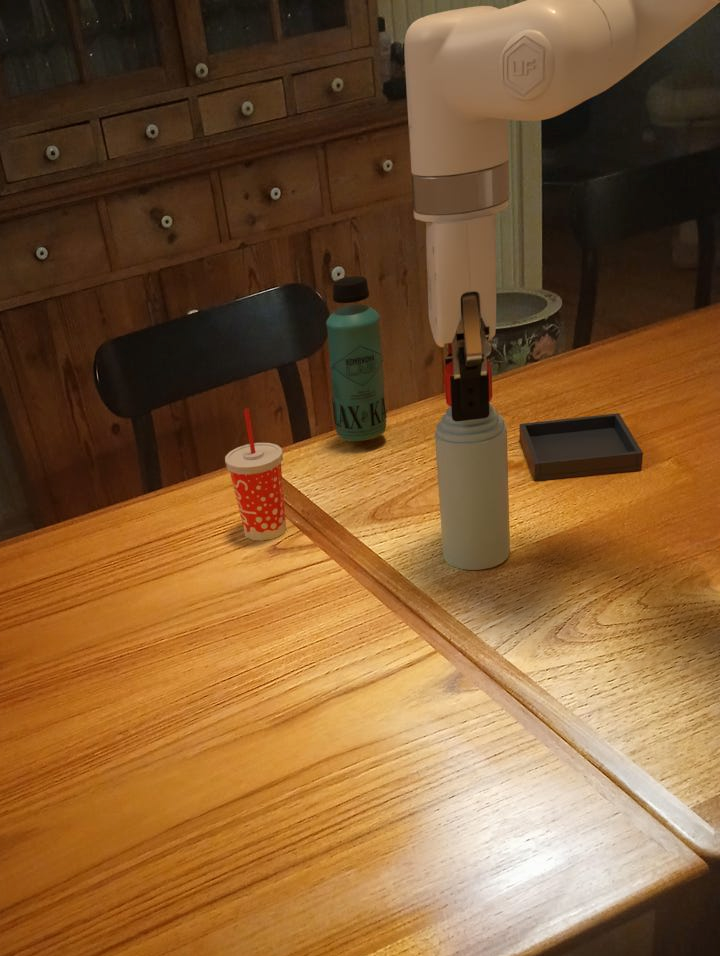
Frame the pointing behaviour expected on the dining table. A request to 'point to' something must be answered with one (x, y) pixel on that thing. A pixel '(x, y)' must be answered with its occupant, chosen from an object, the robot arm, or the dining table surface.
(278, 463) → the beverage cup
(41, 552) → the dining table surface
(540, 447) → the dish
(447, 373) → the cap
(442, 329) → the robot arm
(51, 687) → the dining table surface
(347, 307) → the beverage bottle
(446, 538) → the water bottle
